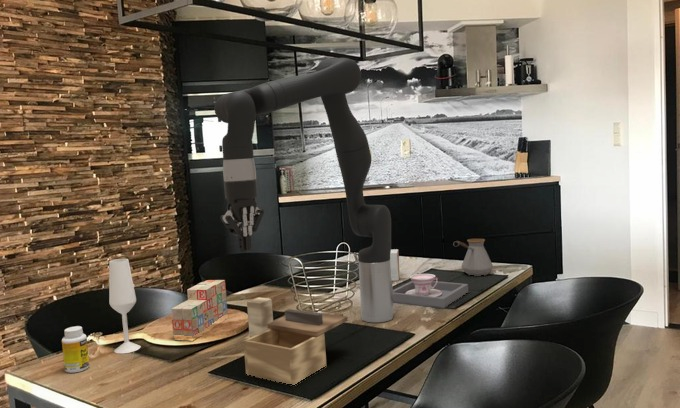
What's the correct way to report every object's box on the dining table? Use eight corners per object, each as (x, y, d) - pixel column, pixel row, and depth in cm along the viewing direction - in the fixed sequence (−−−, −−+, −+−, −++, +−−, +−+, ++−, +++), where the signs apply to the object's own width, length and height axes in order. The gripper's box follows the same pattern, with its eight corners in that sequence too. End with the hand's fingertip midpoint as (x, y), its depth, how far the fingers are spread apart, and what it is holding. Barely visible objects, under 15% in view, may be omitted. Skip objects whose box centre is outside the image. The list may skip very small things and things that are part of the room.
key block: (261, 341, 155) (258, 297, 154) (274, 343, 152) (271, 298, 151) (250, 346, 151) (246, 301, 150) (263, 349, 149) (259, 303, 147)
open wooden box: (279, 357, 142) (277, 325, 141) (326, 366, 134) (324, 333, 133) (246, 374, 132) (243, 340, 131) (294, 386, 124) (291, 349, 123)
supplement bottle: (84, 372, 139) (80, 331, 138) (61, 374, 139) (56, 333, 138) (93, 364, 145) (89, 324, 144) (70, 365, 145) (66, 325, 144)
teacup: (407, 300, 184) (406, 281, 183) (402, 291, 196) (402, 273, 195) (445, 298, 184) (444, 279, 184) (438, 289, 196) (437, 271, 195)
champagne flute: (145, 347, 155) (137, 259, 153) (122, 355, 150) (113, 264, 148) (132, 342, 160) (123, 257, 157) (109, 350, 154) (100, 261, 152)
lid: (304, 312, 150) (303, 299, 150) (351, 318, 142) (350, 305, 142) (267, 328, 139) (266, 314, 138) (316, 336, 130) (315, 321, 130)
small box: (398, 281, 213) (397, 252, 212) (383, 281, 214) (382, 253, 213) (400, 276, 221) (398, 248, 220) (385, 276, 222) (384, 249, 221)
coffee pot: (470, 269, 225) (469, 231, 224) (498, 272, 218) (497, 232, 216) (442, 281, 209) (441, 240, 207) (471, 284, 201) (470, 242, 200)
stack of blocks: (193, 342, 158) (190, 298, 156) (173, 341, 159) (169, 297, 158) (228, 318, 178) (225, 279, 177) (210, 318, 180) (206, 279, 179)
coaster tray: (415, 287, 202) (414, 279, 201) (468, 293, 191) (467, 284, 190) (387, 302, 186) (387, 292, 185) (444, 308, 175) (443, 298, 174)
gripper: (231, 180, 128) (237, 257, 130) (270, 176, 139) (275, 247, 141) (207, 181, 132) (213, 255, 134) (247, 176, 143) (252, 245, 145)
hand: (245, 251), depth 137 cm, fingers closed
